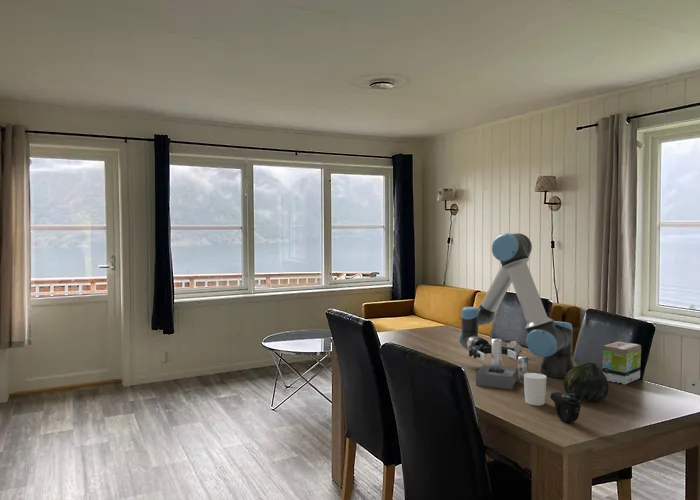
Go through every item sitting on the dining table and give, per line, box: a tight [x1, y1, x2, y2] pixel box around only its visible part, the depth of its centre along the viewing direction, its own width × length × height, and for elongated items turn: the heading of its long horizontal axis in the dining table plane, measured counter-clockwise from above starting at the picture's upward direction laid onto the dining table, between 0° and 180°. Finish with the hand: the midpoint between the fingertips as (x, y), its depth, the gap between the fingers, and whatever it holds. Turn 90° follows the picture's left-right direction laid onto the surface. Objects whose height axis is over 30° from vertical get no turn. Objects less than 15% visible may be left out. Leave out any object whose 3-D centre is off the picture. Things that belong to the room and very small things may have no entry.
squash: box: [563, 362, 610, 403], centre depth 197 cm, size 14×15×15 cm
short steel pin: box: [517, 355, 529, 381], centre depth 225 cm, size 4×4×9 cm
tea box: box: [601, 341, 642, 385], centre depth 223 cm, size 15×10×15 cm, turn 131°
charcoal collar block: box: [475, 364, 517, 390], centre depth 219 cm, size 14×14×5 cm
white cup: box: [523, 372, 548, 407], centre depth 194 cm, size 8×8×10 cm
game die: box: [505, 339, 524, 356], centre depth 264 cm, size 9×8×10 cm
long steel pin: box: [490, 337, 503, 373], centre depth 219 cm, size 4×4×18 cm
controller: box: [549, 392, 582, 423], centre depth 175 cm, size 4×12×10 cm, turn 14°
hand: (500, 356), depth 215 cm, fingers open, 13 cm apart
